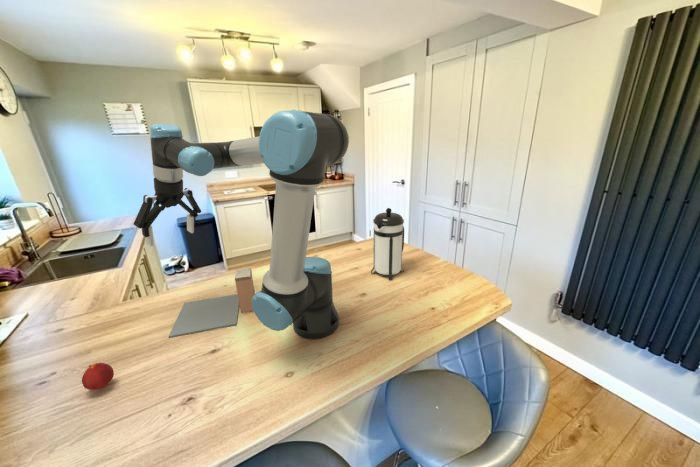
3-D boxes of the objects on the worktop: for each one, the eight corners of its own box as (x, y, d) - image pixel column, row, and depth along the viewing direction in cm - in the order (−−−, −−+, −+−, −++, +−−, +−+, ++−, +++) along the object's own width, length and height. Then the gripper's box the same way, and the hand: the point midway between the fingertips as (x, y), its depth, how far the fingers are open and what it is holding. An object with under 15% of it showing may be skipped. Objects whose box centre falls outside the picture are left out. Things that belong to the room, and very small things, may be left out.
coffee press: (409, 280, 119) (412, 212, 109) (371, 281, 119) (371, 213, 109) (402, 263, 135) (405, 202, 125) (369, 263, 136) (369, 203, 126)
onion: (99, 379, 73) (89, 355, 71) (122, 377, 74) (113, 353, 71) (81, 399, 68) (69, 373, 65) (106, 396, 68) (96, 371, 65)
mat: (236, 325, 93) (236, 323, 93) (168, 338, 88) (168, 336, 88) (240, 294, 111) (240, 293, 111) (184, 303, 106) (184, 302, 106)
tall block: (255, 310, 101) (250, 276, 96) (241, 313, 99) (234, 278, 95) (256, 300, 107) (250, 267, 102) (242, 303, 106) (236, 269, 101)
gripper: (198, 169, 96) (198, 223, 106) (113, 179, 76) (122, 245, 85) (213, 177, 94) (211, 231, 104) (129, 189, 73) (137, 255, 83)
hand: (171, 237), depth 94 cm, fingers open, 13 cm apart
